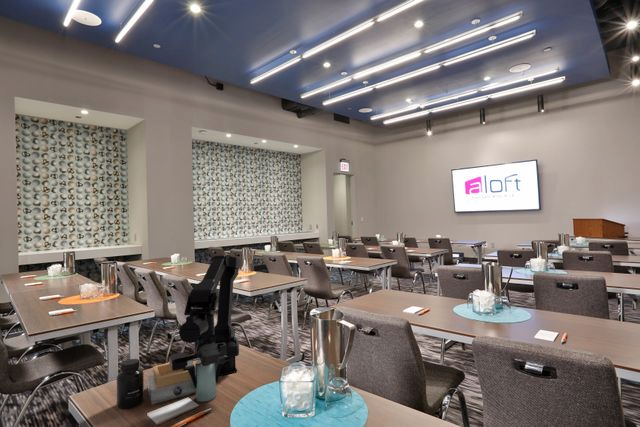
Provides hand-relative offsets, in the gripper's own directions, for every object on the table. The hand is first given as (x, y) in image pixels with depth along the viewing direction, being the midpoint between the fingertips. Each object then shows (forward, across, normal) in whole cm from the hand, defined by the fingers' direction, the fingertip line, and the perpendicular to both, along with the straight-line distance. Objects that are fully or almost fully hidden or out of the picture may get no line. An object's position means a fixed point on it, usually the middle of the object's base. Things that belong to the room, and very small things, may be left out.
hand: (205, 384), depth 103 cm
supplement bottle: (+4, -19, +9) cm, 21 cm away
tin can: (+4, 0, 0) cm, 4 cm away
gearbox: (+4, -7, +11) cm, 14 cm away
